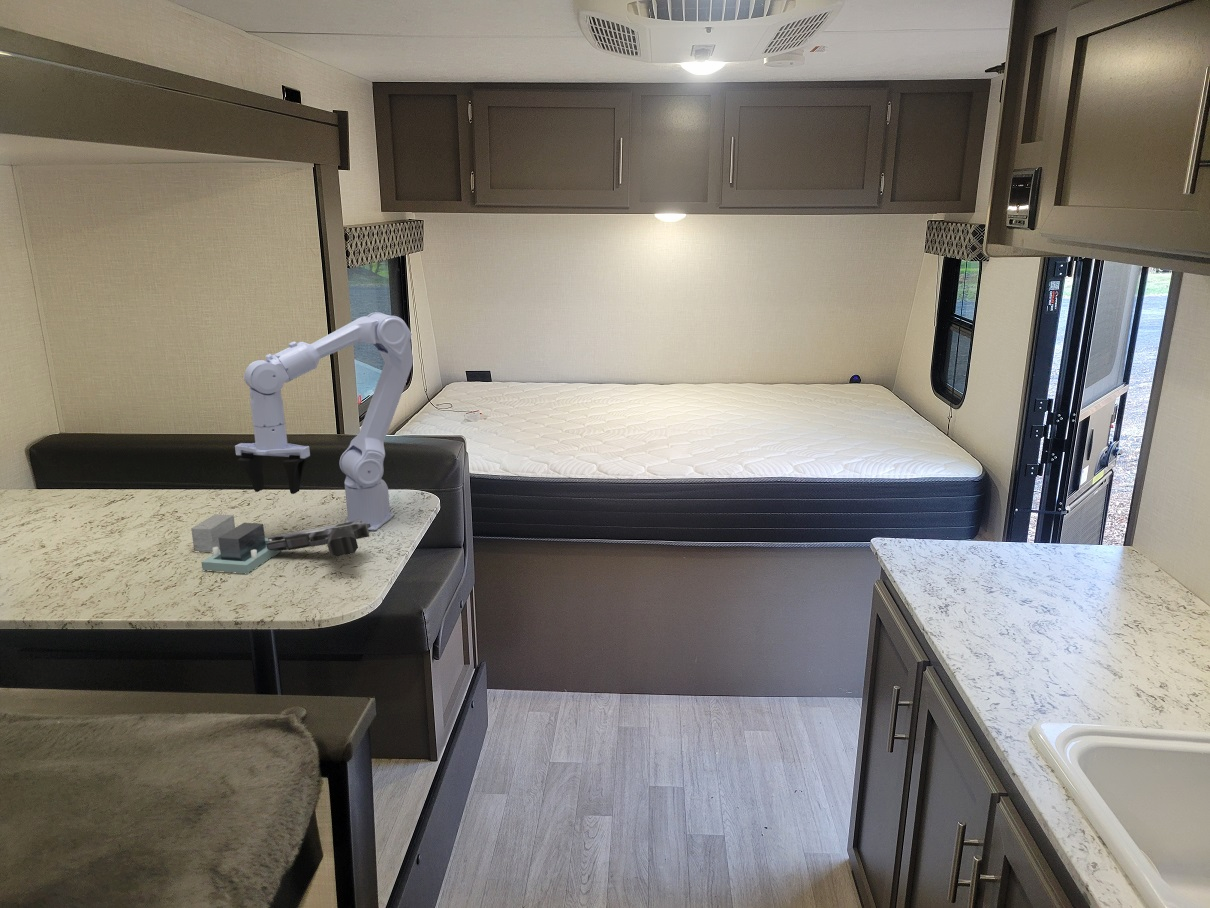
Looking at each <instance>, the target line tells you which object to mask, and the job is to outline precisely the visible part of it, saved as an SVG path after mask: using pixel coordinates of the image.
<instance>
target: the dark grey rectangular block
mask: <svg viewBox="0 0 1210 908" xmlns="http://www.w3.org/2000/svg"><path fill="white" fill-rule="evenodd" d="M265 538H266V535H265V529H264V523H256V522H253V523H252V522H242V523H241V524H240V525H237V526H235V528H234V529H232V530H231V531H229V532H227V533H226V534H224V535H222V536H221V537H219V538H218V539H219V546H220V549H219V551H220V553H221V560H231V561H247V560H248V559H250V558H251V550H253V549H256V550H257V553H259V552H260V551H261V550H263V549H264V548H266V543H265Z"/></svg>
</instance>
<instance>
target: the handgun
mask: <svg viewBox="0 0 1210 908" xmlns="http://www.w3.org/2000/svg"><path fill="white" fill-rule="evenodd" d="M345 522H346V521H345ZM345 522H341V523H337V524H332V525H325V526H319V527H314V528H309V529H303V530H298V531H292V532H287V533H282V534H280V533H279V534H275V535H271V536H268V537H267V538H268V540H269V539H272V541H268V542H267V543H266V545H267V549H268V550H275V551H280V550H282V551H293V550H299V549H304V548H309V547H312V548H314V547H318V546H324V545H326V546H327V548H328V549H327V550H328V552H329V554H330V555H332V556H334V557H336V558H337V557H343V556H348V555H352V554H355V553H356V551H357V550H358V548H359V546H358V542H357V540H359V539H364V538H370V537H371V535H370V532H369V530H368V528H370V527H371V526H370V523H369V524H366V523H362V521H361V520H357V521H352V522H346V523H345Z"/></svg>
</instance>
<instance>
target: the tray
mask: <svg viewBox="0 0 1210 908" xmlns="http://www.w3.org/2000/svg"><path fill="white" fill-rule="evenodd" d="M268 541H272V539H269V540H268V537H265V543H267V542H268ZM212 549H213V553H212V554H211V555H210V556H208V557H207V558H206V559H204V560H202V561H201V569H202V570H201V571H203V570H212V571H224V572H236V573H246V574H245V575H249V574H250V573H249V572H250V571H252V570H253V569H255V568H256V567H258V566H259V565H260V564H262V563H263V564H265V563H266V562H268V561H269V560H271V559H272V558H274V557H275V556H276V555H277V553H278V554H279V553H281V552H282V551H281V550H280V551H281V552H280V551H275V550H268V549H267V545H266V548H264V549H263V550H261V551H260V552H259V553H257V550H256V549H253V550H251V558H250V559H248V560H247V561H231V560H221V553H220V549H218V547H213V548H212ZM274 555H275V556H274ZM271 557H272V558H271ZM270 558H271V559H270ZM268 559H269V560H268ZM267 560H268V561H267ZM265 561H266V562H265ZM264 562H265V563H264ZM263 564H262V565H263ZM259 567H260V566H259ZM259 567H258V568H259ZM256 569H257V568H256ZM256 569H255V570H256ZM253 571H254V570H253ZM253 571H252V572H253ZM248 573H249V574H248Z"/></svg>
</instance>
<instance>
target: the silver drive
mask: <svg viewBox="0 0 1210 908" xmlns="http://www.w3.org/2000/svg"><path fill="white" fill-rule="evenodd" d="M234 528H236V523H235V516H234V515H233V514H219V513H218V514H213V515H211V516H209V517H208V518H206V519H204V520H203V521H201V522H200V523H198V524H197V525H194V526H193V527H191V529H190V531H191V537H192V543H193V550H194V551H199V552H213V549H212V548H213V547H218V549H219V550H220V546H219V539H218V538H219V537H221V536H222V535H224V534H226V533H227V532H229V531H231V530H232V529H234ZM199 552H198V553H199Z"/></svg>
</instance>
